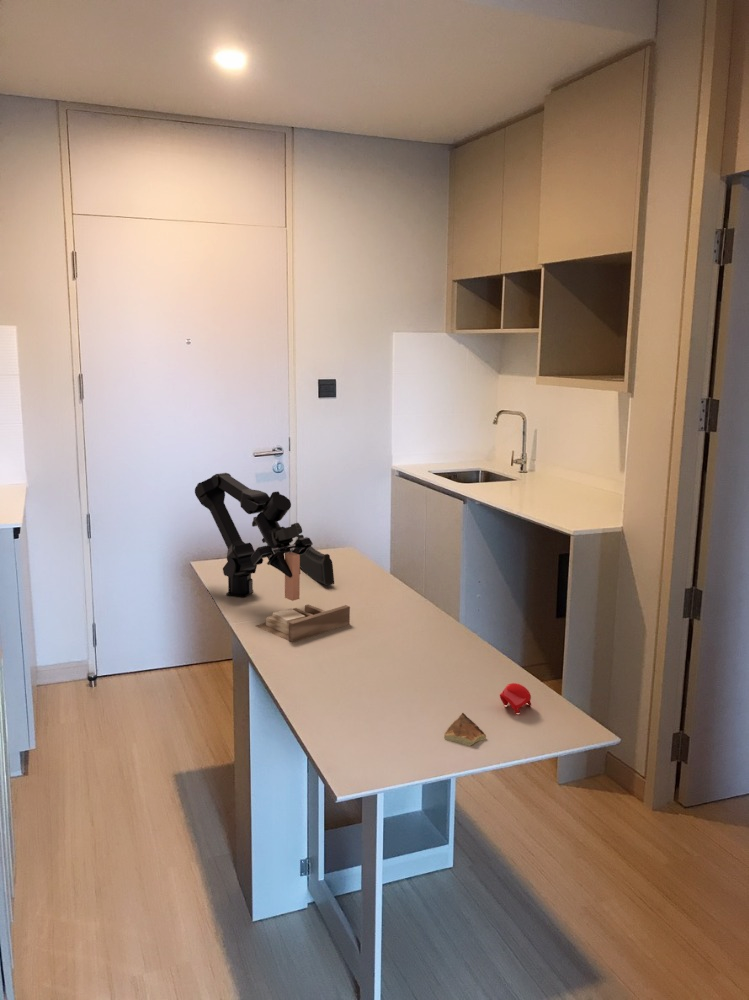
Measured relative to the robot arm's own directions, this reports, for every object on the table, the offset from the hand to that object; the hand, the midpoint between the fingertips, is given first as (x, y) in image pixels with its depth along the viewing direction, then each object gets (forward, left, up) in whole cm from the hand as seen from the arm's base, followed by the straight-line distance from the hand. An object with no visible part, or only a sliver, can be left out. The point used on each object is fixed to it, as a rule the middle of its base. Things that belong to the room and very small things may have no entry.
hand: (295, 575), depth 224 cm
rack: (+5, -8, -12) cm, 15 cm away
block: (-1, +1, -7) cm, 7 cm away
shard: (+56, -53, -13) cm, 78 cm away
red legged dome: (+66, -39, -12) cm, 78 cm away
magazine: (-9, +39, -12) cm, 42 cm away
